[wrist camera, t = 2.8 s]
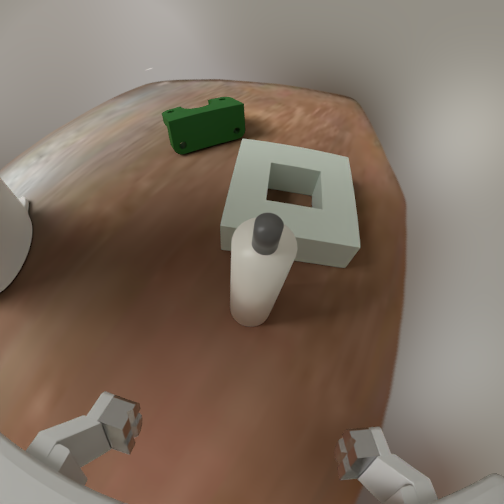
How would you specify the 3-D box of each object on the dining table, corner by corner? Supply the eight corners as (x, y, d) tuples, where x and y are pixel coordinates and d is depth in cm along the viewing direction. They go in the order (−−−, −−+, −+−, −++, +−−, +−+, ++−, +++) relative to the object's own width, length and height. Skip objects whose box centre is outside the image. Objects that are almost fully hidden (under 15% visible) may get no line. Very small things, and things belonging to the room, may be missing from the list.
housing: (221, 249, 30) (220, 225, 26) (240, 163, 37) (242, 138, 33) (344, 268, 30) (360, 247, 26) (338, 180, 37) (348, 157, 33)
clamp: (221, 146, 45) (236, 98, 40) (235, 159, 42) (253, 106, 37) (154, 139, 39) (167, 85, 34) (161, 153, 35) (176, 91, 30)
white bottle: (227, 323, 26) (226, 250, 14) (233, 286, 28) (238, 191, 16) (268, 329, 26) (304, 262, 14) (272, 291, 28) (305, 202, 16)
